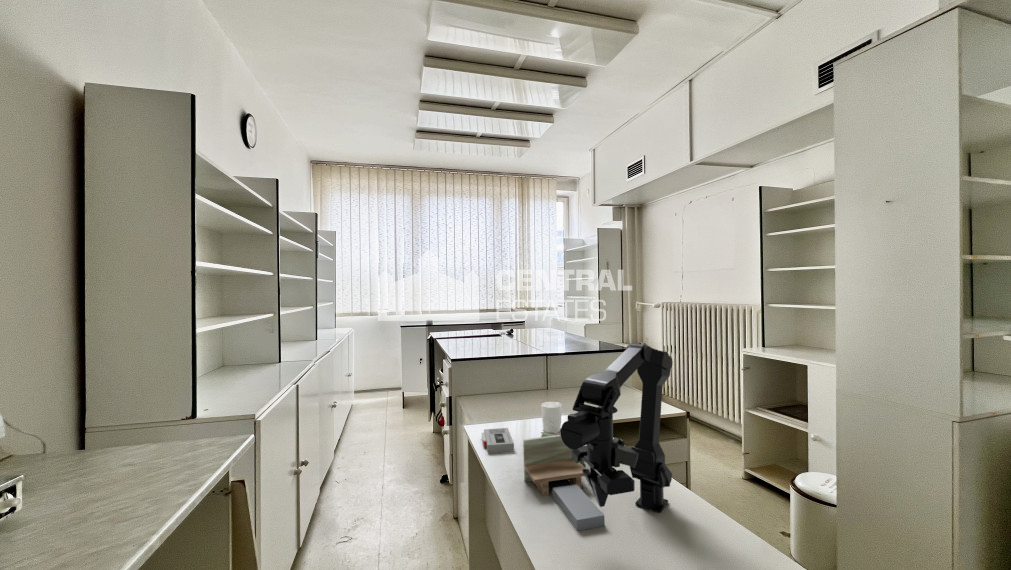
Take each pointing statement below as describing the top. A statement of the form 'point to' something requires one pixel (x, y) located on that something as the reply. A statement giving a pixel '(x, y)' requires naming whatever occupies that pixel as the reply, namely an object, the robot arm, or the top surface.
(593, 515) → the grey chamfered block
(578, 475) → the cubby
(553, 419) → the white cup
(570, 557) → the top surface
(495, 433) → the cassette player
